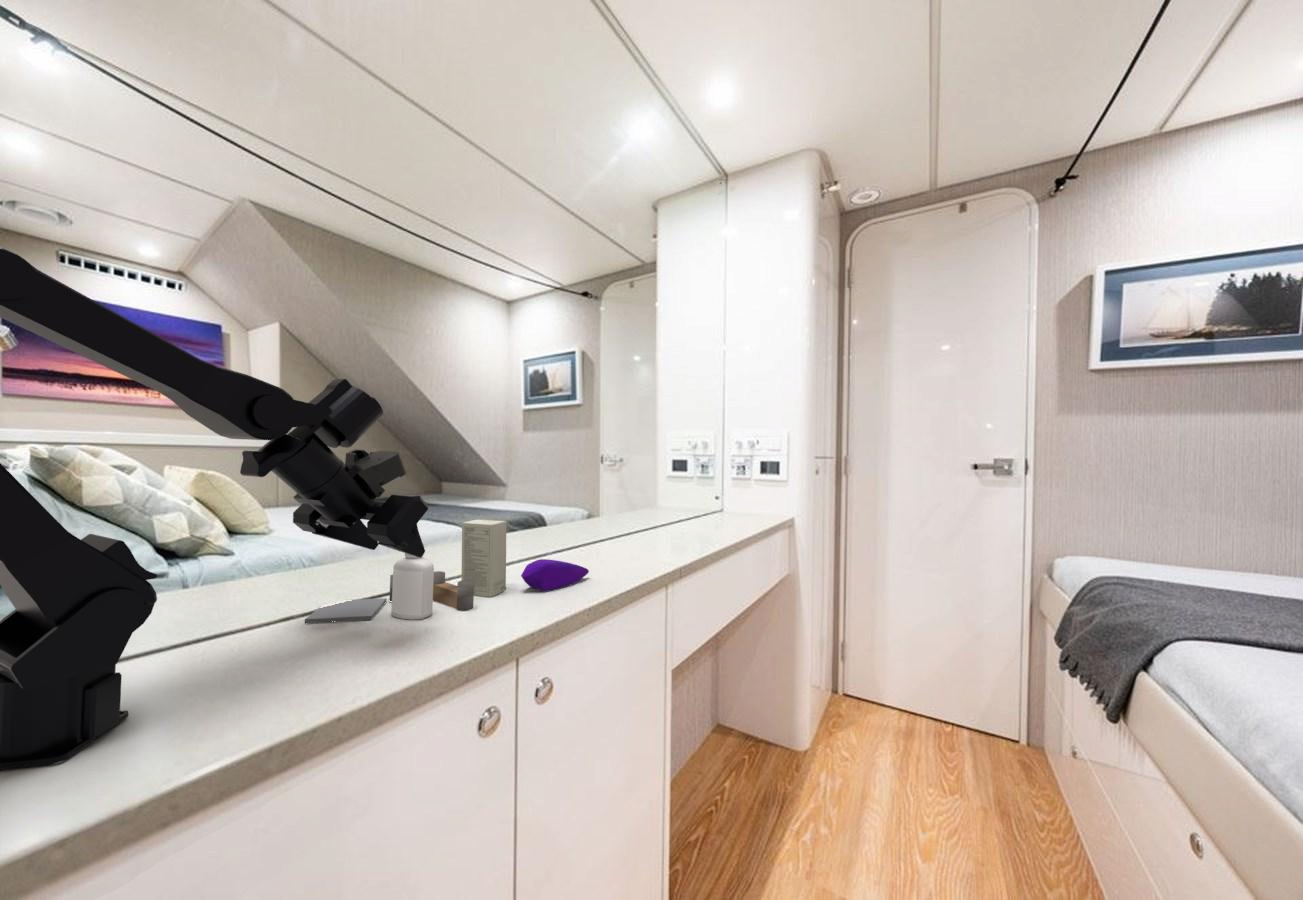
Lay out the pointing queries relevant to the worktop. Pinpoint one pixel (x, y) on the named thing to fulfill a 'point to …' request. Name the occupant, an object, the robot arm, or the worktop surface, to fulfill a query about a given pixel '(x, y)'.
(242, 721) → the worktop surface
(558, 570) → the purple faceted pebble
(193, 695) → the worktop surface
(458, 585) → the rail
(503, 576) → the skincare box
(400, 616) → the eye dropper bottle
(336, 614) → the coaster
